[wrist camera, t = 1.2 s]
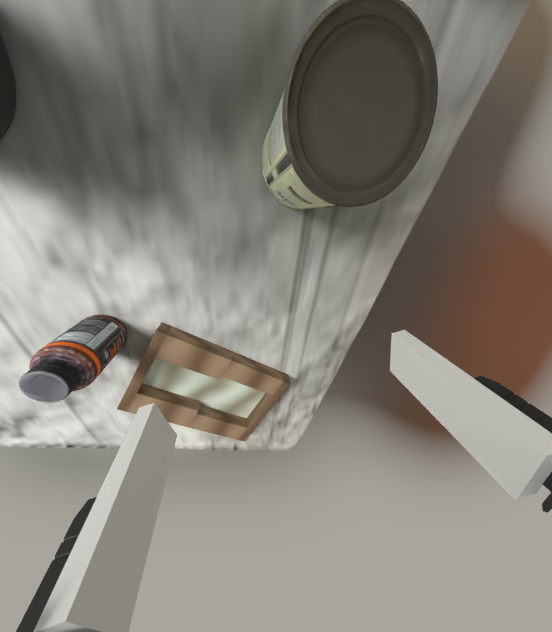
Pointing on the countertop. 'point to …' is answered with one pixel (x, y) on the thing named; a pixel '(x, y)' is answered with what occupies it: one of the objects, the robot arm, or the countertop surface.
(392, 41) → the coffee can
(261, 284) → the countertop surface
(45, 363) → the supplement bottle
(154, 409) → the robot arm
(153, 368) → the brown wooden picture frame
